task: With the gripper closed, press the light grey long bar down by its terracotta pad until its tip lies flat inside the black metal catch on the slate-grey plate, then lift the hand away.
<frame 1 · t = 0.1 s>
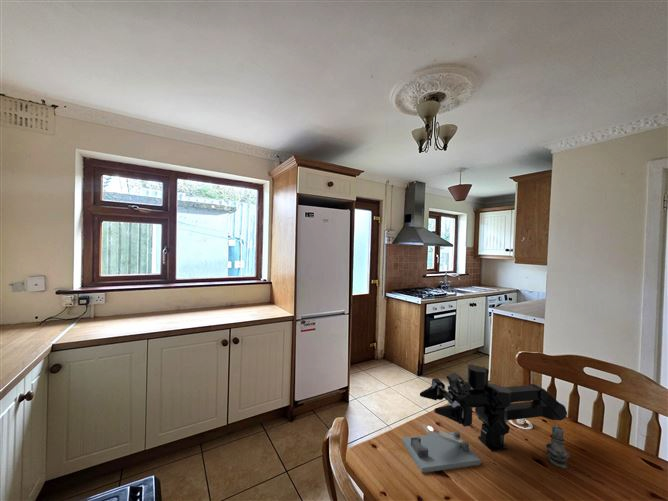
hand: (427, 402, 88), 17 cm above the table, tool horizontal, fingers open, 9 cm apart
light grey long bar: (445, 435, 88), point 6 cm above the table, hinge at 25.0°
teacup and saucer: (525, 422, 105), on the table
base plate: (439, 452, 88), on the table
grey tiered tower figurine: (556, 461, 85), on the table
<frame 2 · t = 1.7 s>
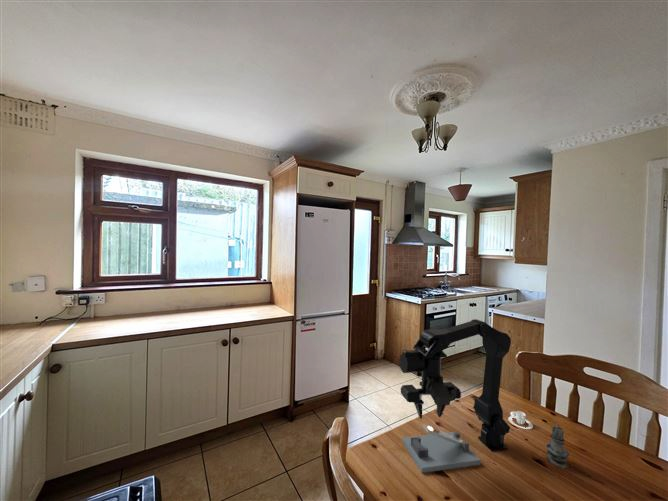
hand: (429, 417, 87), 12 cm above the table, tool pointing down, fingers open, 6 cm apart
nothing on the table moved.
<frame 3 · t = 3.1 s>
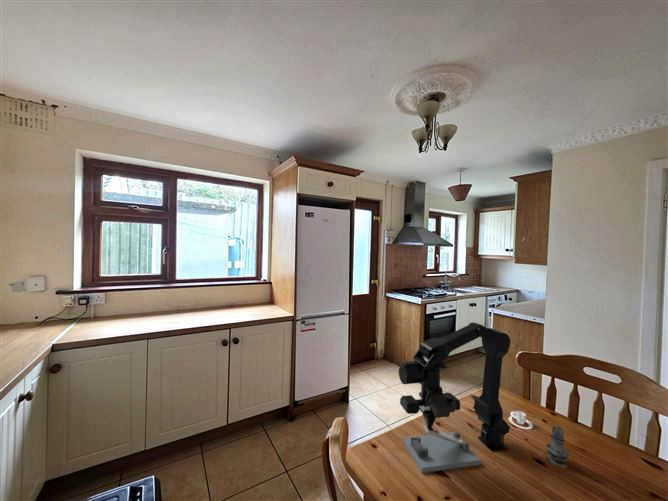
hand: (429, 428, 87), 8 cm above the table, tool pointing down, fingers closed, pressing on light grey long bar
light grey long bar: (444, 435, 88), point 6 cm above the table, hinge at 24.4°, touching gripper
everything else where it was.
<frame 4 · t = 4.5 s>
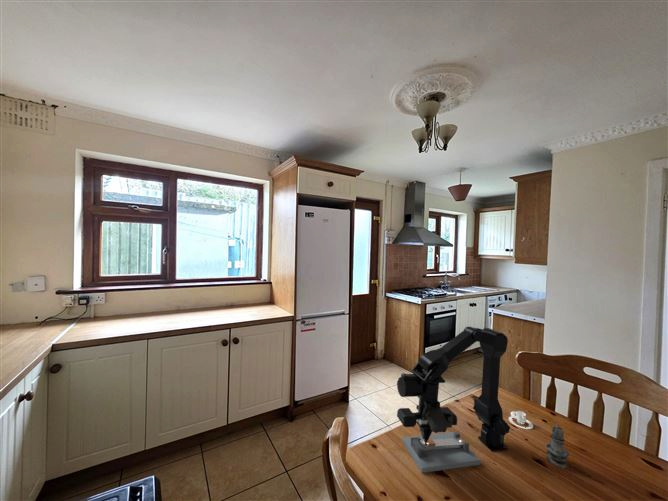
hand: (425, 442, 87), 4 cm above the table, tool pointing down, fingers closed
light grey long bar: (442, 442, 88), point 3 cm above the table, hinge at 3.1°, touching gripper
everything else where it was.
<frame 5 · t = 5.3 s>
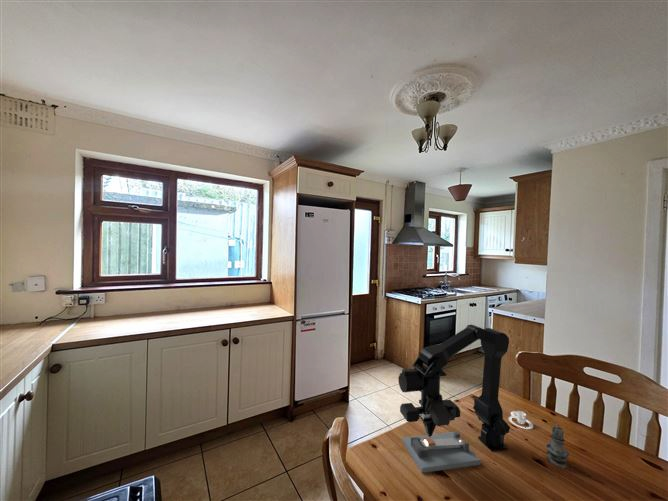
hand: (429, 435, 87), 6 cm above the table, tool pointing down, fingers closed
light grey long bar: (442, 442, 88), point 3 cm above the table, hinge at 3.6°
everything else where it was.
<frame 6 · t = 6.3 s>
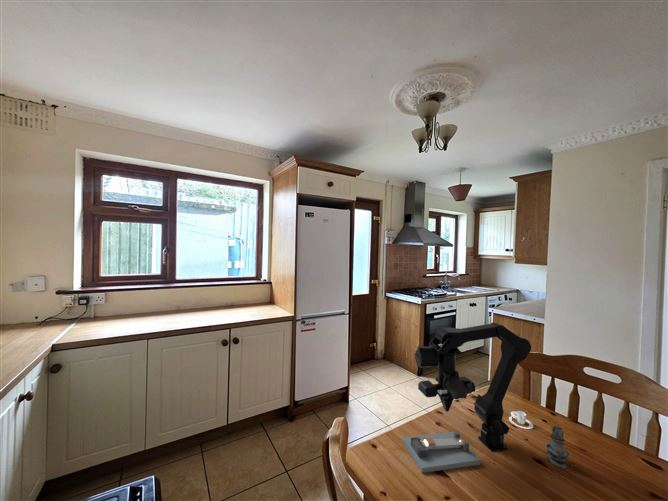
hand: (446, 410, 91), 12 cm above the table, tool pointing down, fingers closed
nothing on the table moved.
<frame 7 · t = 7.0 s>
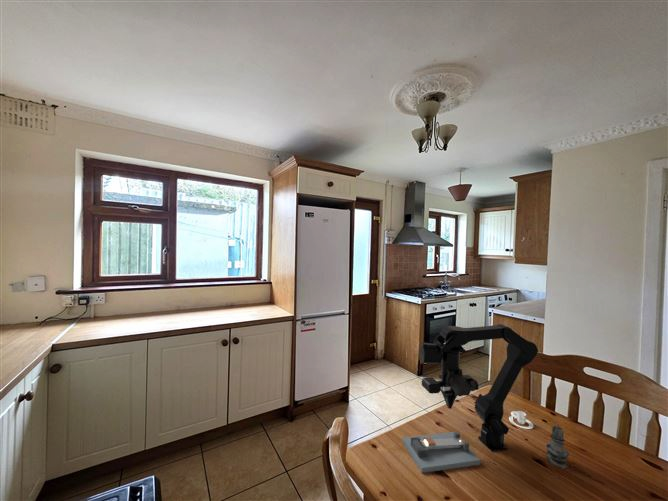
hand: (449, 407, 93), 12 cm above the table, tool pointing down, fingers closed
nothing on the table moved.
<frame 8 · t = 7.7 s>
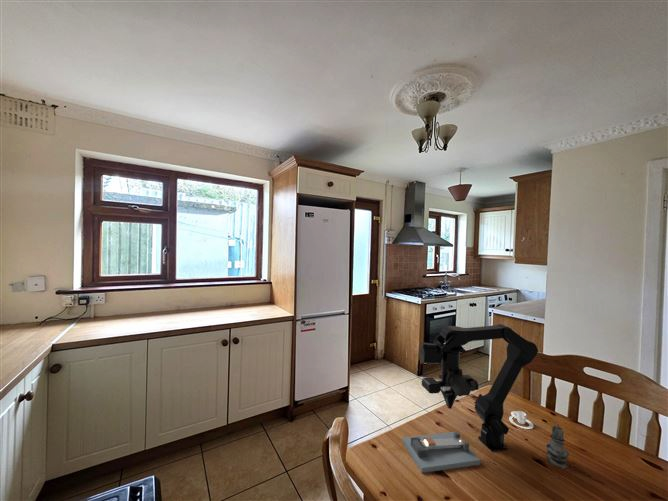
hand: (449, 407, 93), 12 cm above the table, tool pointing down, fingers closed
nothing on the table moved.
at the end: light grey long bar at +4° (first picture: +25°); grey tiered tower figurine moved 0.2 cm from its start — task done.
